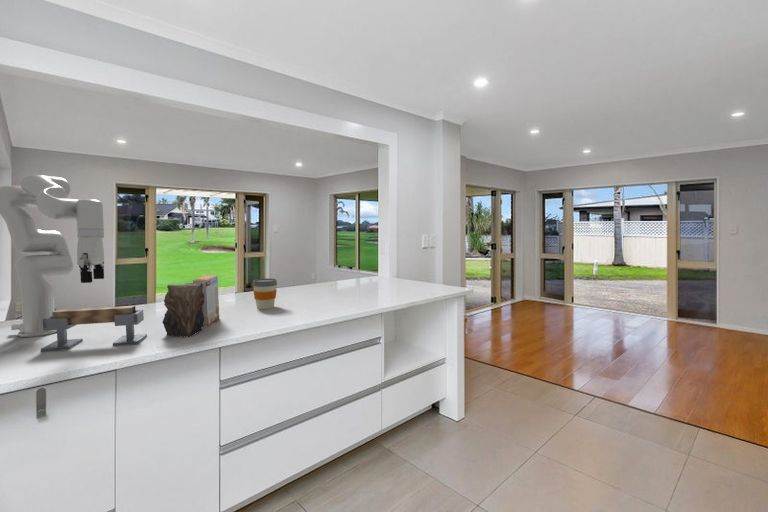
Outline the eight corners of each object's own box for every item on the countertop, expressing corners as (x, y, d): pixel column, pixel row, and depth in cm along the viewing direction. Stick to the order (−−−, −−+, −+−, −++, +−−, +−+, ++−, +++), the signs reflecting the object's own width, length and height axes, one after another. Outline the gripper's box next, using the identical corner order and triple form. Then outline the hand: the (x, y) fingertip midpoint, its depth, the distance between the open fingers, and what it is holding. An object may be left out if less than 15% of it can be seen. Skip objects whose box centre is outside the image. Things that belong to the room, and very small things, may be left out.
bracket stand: (40, 351, 125) (38, 320, 124) (56, 343, 134) (54, 313, 133) (138, 343, 134) (137, 314, 133) (146, 336, 143) (145, 308, 142)
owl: (161, 335, 145) (159, 285, 143) (185, 327, 157) (183, 281, 155) (188, 337, 142) (187, 287, 140) (210, 329, 154) (209, 282, 153)
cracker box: (206, 319, 171) (205, 275, 170) (219, 318, 172) (218, 275, 170) (193, 327, 157) (192, 279, 156) (208, 326, 158) (206, 279, 156)
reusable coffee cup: (273, 309, 191) (272, 281, 190) (249, 309, 192) (248, 281, 190) (280, 304, 204) (279, 278, 203) (258, 304, 204) (257, 278, 203)
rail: (52, 326, 128) (52, 312, 127) (59, 323, 132) (58, 309, 131) (132, 321, 135) (131, 307, 135) (135, 318, 139) (135, 305, 139)
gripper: (89, 233, 139) (91, 277, 140) (65, 234, 122) (68, 284, 124) (112, 233, 141) (114, 277, 142) (92, 234, 125) (94, 283, 126)
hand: (93, 280), depth 133 cm, fingers open, 9 cm apart
